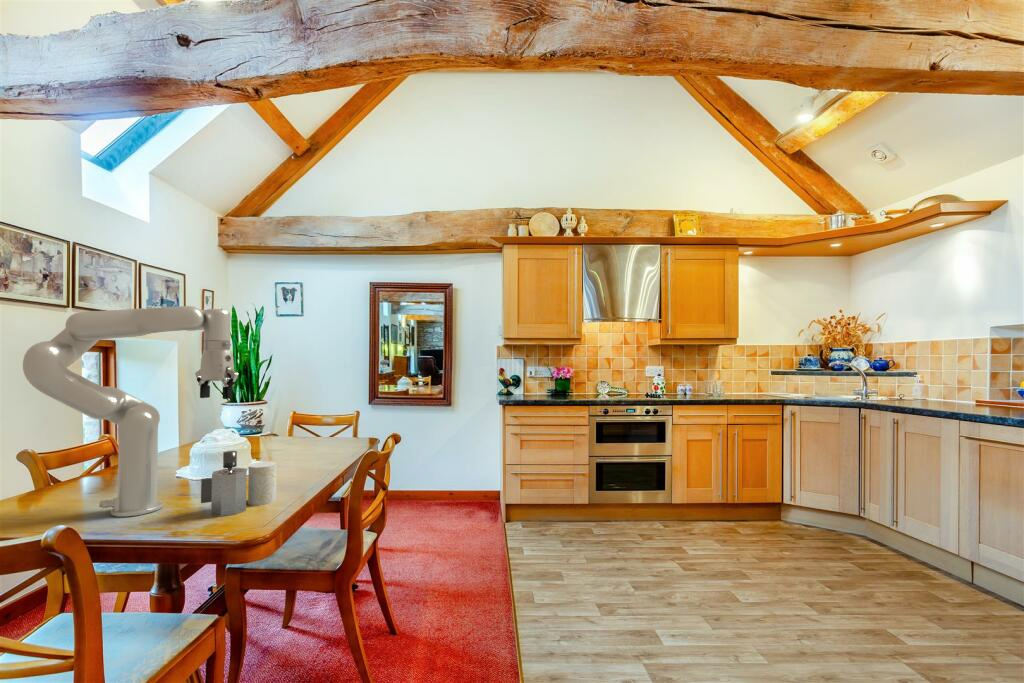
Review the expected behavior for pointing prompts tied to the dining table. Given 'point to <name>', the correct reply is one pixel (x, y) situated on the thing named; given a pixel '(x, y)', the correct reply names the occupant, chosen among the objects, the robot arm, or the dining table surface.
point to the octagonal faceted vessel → (225, 491)
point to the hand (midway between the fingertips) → (216, 398)
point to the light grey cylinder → (262, 483)
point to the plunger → (229, 460)
